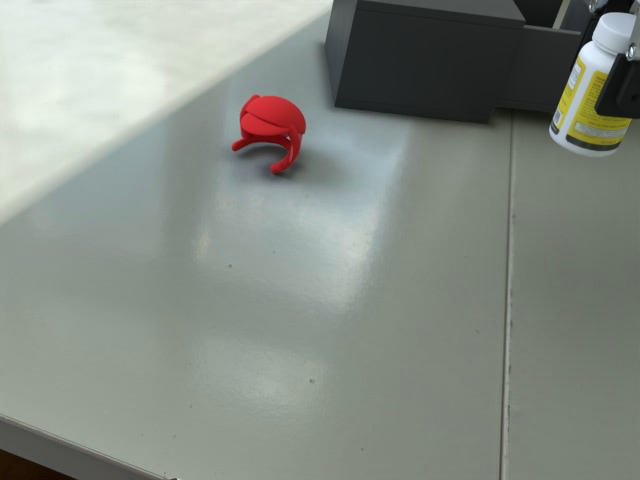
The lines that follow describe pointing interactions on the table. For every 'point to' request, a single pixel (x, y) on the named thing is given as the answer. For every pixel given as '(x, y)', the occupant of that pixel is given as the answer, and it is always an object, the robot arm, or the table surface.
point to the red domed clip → (272, 126)
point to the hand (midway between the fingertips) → (603, 91)
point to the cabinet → (422, 55)
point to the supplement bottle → (593, 92)
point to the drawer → (542, 55)
